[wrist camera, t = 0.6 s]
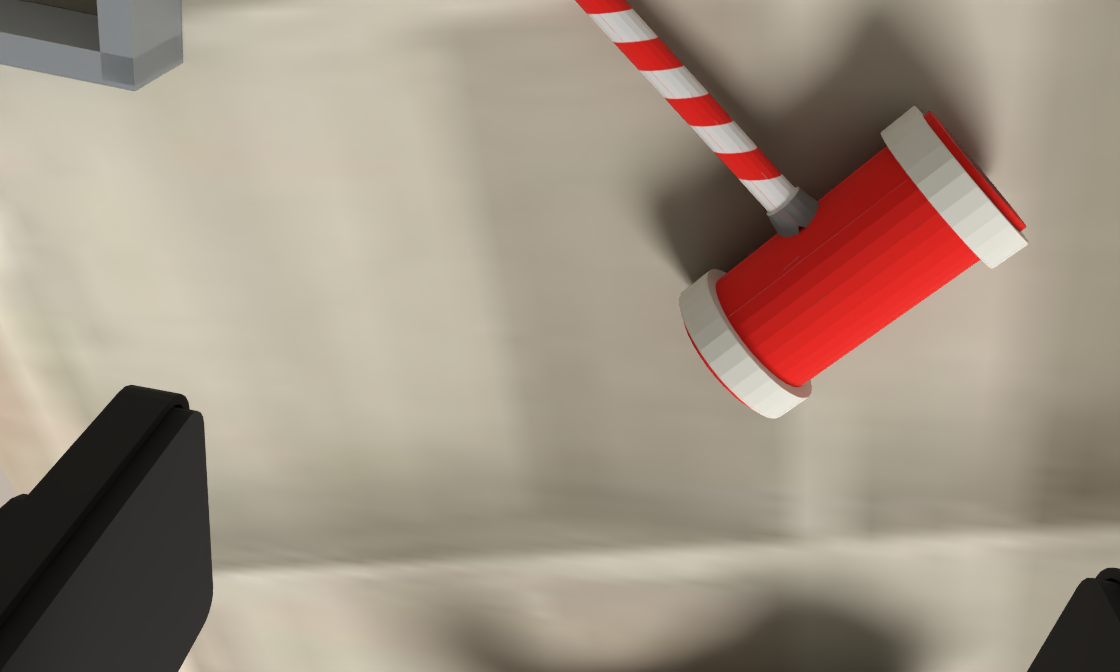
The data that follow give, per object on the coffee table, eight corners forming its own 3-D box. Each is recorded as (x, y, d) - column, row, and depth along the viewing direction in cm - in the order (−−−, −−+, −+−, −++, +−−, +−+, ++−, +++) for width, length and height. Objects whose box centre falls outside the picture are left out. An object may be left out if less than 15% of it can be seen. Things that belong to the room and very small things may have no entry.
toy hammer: (378, -14, 37) (326, 23, 32) (597, -277, 32) (581, -287, 27) (771, 365, 44) (785, 451, 38) (1004, 195, 39) (1058, 265, 33)
